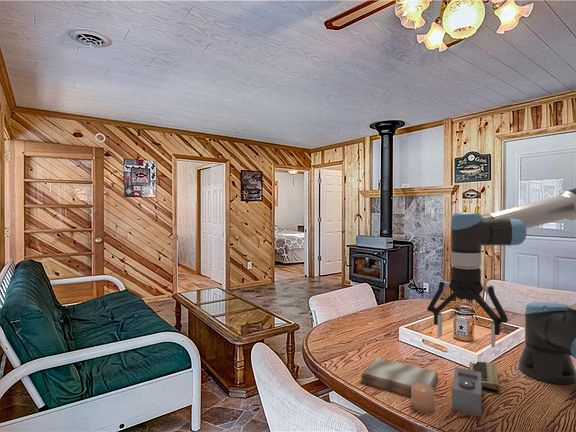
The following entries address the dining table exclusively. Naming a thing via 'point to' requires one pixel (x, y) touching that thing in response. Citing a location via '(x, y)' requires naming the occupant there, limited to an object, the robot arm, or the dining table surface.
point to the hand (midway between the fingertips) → (465, 340)
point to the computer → (487, 375)
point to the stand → (397, 376)
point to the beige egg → (422, 397)
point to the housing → (466, 391)
